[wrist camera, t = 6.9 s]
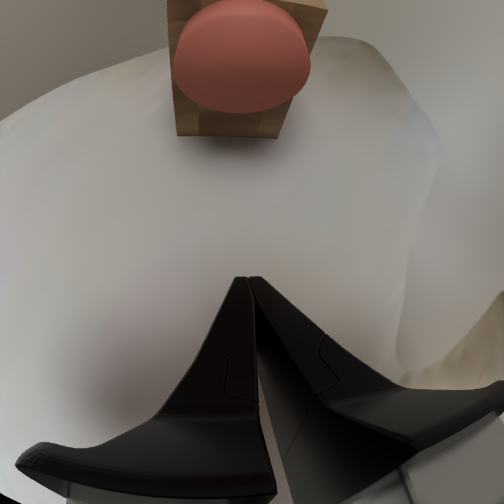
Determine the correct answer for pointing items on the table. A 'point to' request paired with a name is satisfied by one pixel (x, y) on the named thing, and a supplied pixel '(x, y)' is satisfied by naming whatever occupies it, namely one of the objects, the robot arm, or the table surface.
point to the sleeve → (224, 123)
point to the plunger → (241, 56)
